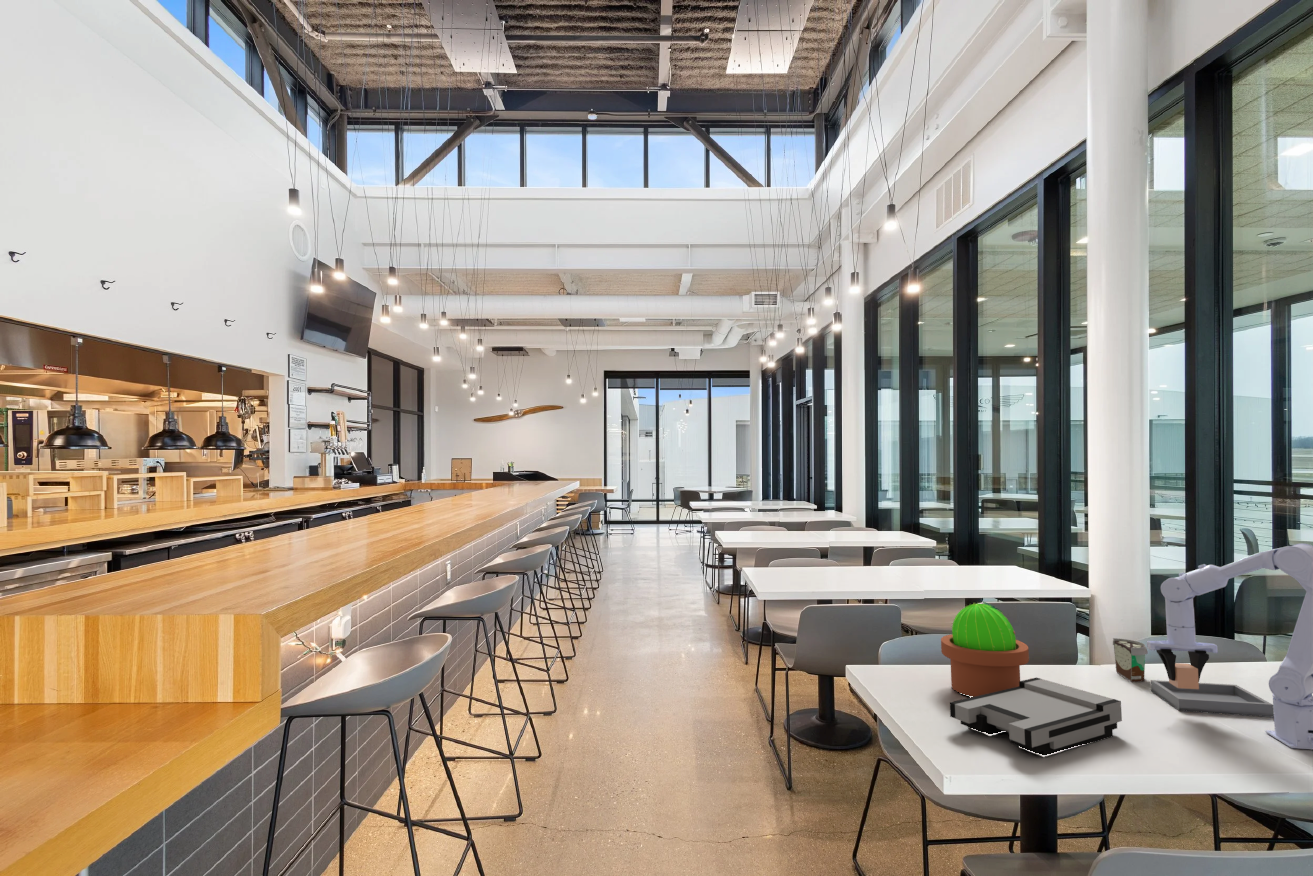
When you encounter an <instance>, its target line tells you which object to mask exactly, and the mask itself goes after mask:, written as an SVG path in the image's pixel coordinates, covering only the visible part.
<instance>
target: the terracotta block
mask: <svg viewBox="0 0 1313 876" xmlns="http://www.w3.org/2000/svg"><path fill="white" fill-rule="evenodd" d="M1175 674H1176V677H1175V681H1172V680H1170V679H1169V678H1168V681H1169V683H1171V684H1172V685H1174V686H1175V687H1177V688H1185V689H1199V683H1200V680H1199V679H1198V669H1197V668H1196V667H1194V666H1192V665H1191V664H1190V663H1180V662H1178V663H1177V662H1175Z"/></svg>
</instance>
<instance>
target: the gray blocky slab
mask: <svg viewBox="0 0 1313 876" xmlns="http://www.w3.org/2000/svg"><path fill="white" fill-rule="evenodd" d="M949 715H950V716H949V717H951V718H953V719H956V720H959V721H960V724H961V725H963V726H966V727H967V728H968V727H970V728H973V729H976V730H978V731H981V732H986V733H988V734H993V733H998V732H1001V731H1006V733H1008V735H1009V740H1010V744H1012V745H1015V746H1017V747H1018V746H1020V747H1022V748H1025V749H1027V750H1030V751H1033V752H1035V753H1039V754H1042V755H1047V754H1051V753H1054V752H1057V751H1060V750H1064V749H1068V748H1071V747H1074V746H1078V745H1082V744H1086V745H1088V744H1087V743H1090V742H1093V743H1096V742H1099V741H1102V740H1105V739H1104V738H1106V739H1108V738H1107V737H1109V738H1111V736H1112V737H1114V736H1113V734H1114V733H1113V730H1117V729H1118V723H1121V722H1122V721H1123V716H1122V702H1121V700H1118V699H1115V698H1112V697H1107V696H1105V695H1100V694H1096V693H1093V692H1090V691H1086V690H1083V689H1079V688H1075V687H1071V686H1067V685H1065V684H1062V683H1061V684H1060V683H1059V682H1058V683H1057V682H1054V681H1050V680H1047V679H1043V678H1040V677H1033V678H1029V679H1023V680H1020V681H1019V686H1018V687H1014V688H1010V689H1005V690H1001V691H997V692H992V693H988V694H984V695H979V696H975V697H971V698H969V697H967V698H962V699H958V700H953V701H950V702H949ZM1101 739H1102V740H1101ZM1098 740H1099V741H1098ZM1095 741H1096V742H1095ZM1090 744H1091V743H1090Z"/></svg>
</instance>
